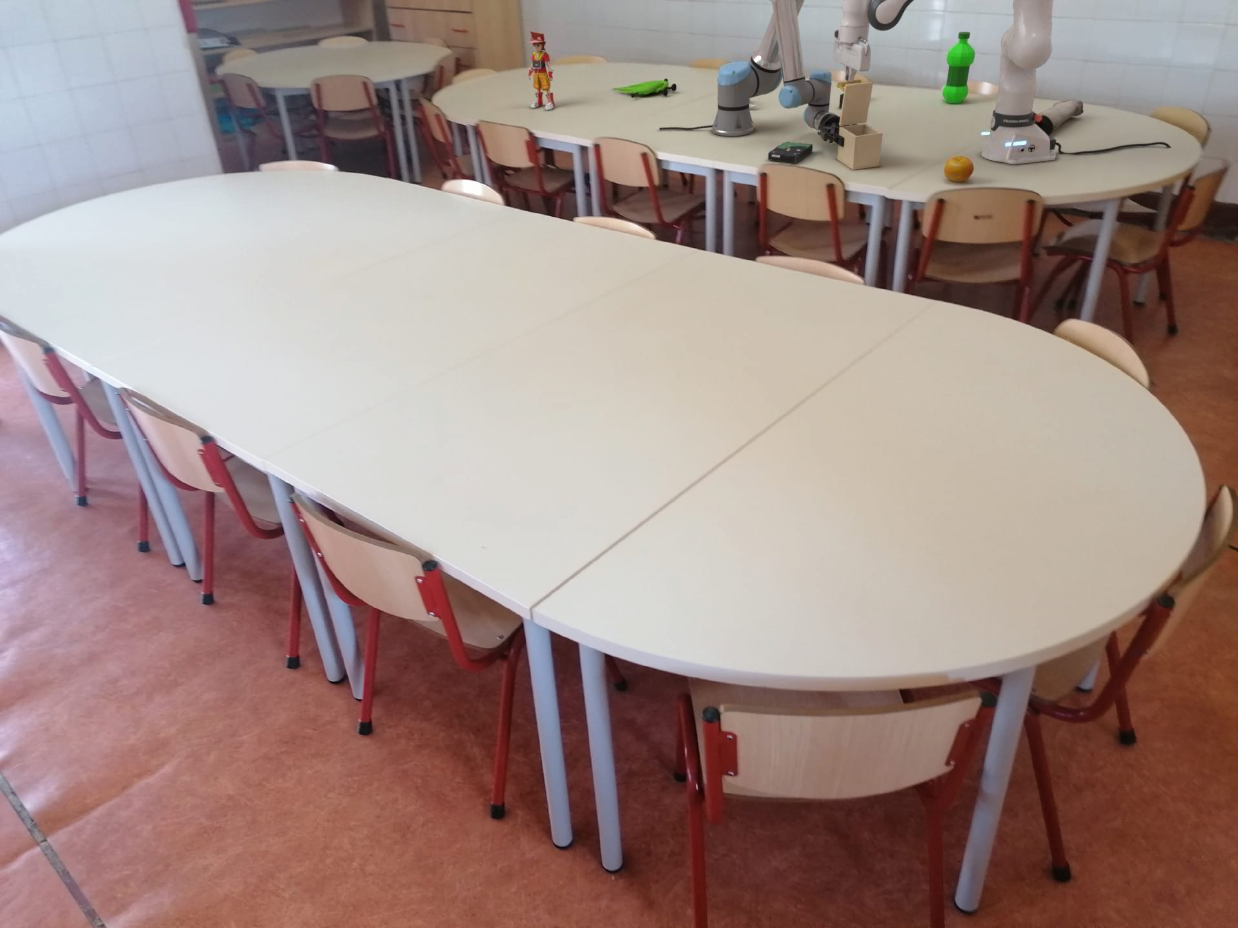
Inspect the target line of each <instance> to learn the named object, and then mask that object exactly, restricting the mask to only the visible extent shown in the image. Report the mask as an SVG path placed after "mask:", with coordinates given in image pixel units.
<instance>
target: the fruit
mask: <svg viewBox="0 0 1238 928" xmlns="http://www.w3.org/2000/svg"><path fill="white" fill-rule="evenodd" d="M974 169H975V166H974V162H973V161H972V160H971V159H970V158H969V157H968V156H964V155H957V156H953V157H951V158H949V159H948V160H946V162H945V164H944V166H943V175H944V177H945V178H946V179H947V180H948V181H951V182H957V183H959V182H960V183H961V182H965V181H967V180H968V179H969V178H971V176H972V175H973V174H974Z"/></svg>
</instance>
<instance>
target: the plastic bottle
mask: <svg viewBox="0 0 1238 928" xmlns="http://www.w3.org/2000/svg"><path fill="white" fill-rule="evenodd" d="M970 36H971V32H970V31H959V32H958V36H957V39H958V42H957V43H956V44H954V45H953V46H952V47H951V48H950V49H949V50H948V52H947V54H946V63H947V64H948V69H947V70H948V71H947V76H946V77H947V78H946V84H945V85H944V87H943V90H942V97H943V99H944V100H945V101H946V102H947V103H948V104H960V103H961V102H963V101H964V100H966V98H967V96H968V95H969V85H968V79H969V73H970V67H971V65H972V64H973V63H974V61H975V57H976V51H975V49H974V47H972V45H971V44H970V43H969V42H968V41H969V39H970V38H971V37H970Z"/></svg>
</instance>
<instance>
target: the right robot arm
mask: <svg viewBox="0 0 1238 928" xmlns="http://www.w3.org/2000/svg"><path fill="white" fill-rule="evenodd" d="M914 1H915V0H842V7H841V8H842V9H841V11H842V18H841V19H842V20H841V23H840V28H837V29H835V30H834V31H833V38H834V40H833V51H832V52H833V54H832V55H833V56H832V57H833V60H834V62H837V63H839V64H841V65H843V69H844V76H845V77H844V80H845V81H849V82H853V81H854V80H855V76H856V74H857V72H859V73H861V72H862V73H863V72H868V71H869V70H870V69H871V61H872V60H871V59H872V58H871V57H872V49H871V46H870V44H869V42H868V40H869V32H870V26H871V27H872V28H873V29H874V30H876V31H881V32H885V31H889V30H892V29H893V28H895V27H896V26H897V25H898V24H899V22H900V21H901V19H902V18H903V15H904V13H905V11H906V10H907V9H908V7H909V6H910V5H911V4H912V3H913V2H914ZM1053 6H1054V0H1013V2H1012V9H1013V24H1012V25H1010V26H1009V27H1007V28H1006V29H1005V30H1004V32H1003V34H1002V35H1001V37H1000V38H1001V39H1000V59H999V81H998V89H997V96H996V102H995V107H994V110H993V111H992V115H991V119H990V123H989V124H990V125H989V127H990V131H983V132H981V136H987V135H988V137H987V140H986V143H985V145H984V148H983V150H982V152H981V157H983V158H984V159H987V160H990V161H994V162H1000V163H1005V164H1010V165H1020V164H1021V165H1022V164H1029V163H1039V162H1048V161H1055V160H1056V158H1057V154H1056V152H1055V151H1054V150H1055V148H1056V146H1057V147H1058V149H1057V152H1058V153H1059V154H1061V155H1074V156H1075V155H1076V156H1077V155H1082V154H1084V155H1086V154H1087V155H1088V154H1098V153H1104V152H1110V151H1114V150H1119V149H1125V148H1133V147H1134V148H1135V147H1148V146H1149V147H1150V146H1156V145H1162V146H1165V147H1166V148H1167V149H1171V148H1172V146H1171V145H1170V144H1169V143H1167V142H1164V141H1154V142H1146V143H1131V144H1122V145H1118V146H1112V147H1108V148H1103V149H1097V150H1096V149H1094V150H1082V151H1075V152H1064V151H1063V150H1062V145H1061V143H1060V142H1057V138H1055V137H1053V136H1051V135H1047V134H1046V133H1045V132H1044V131H1043V130H1042V129H1041V128H1040V127H1038V126H1037V125H1036V124H1035V121H1037V122H1039V121H1040V120H1042V118H1041V117H1042V116H1041V115H1040V114H1039V113H1037V112H1035V111H1033V106H1034V102H1035V98H1036V92H1037V86H1038V85H1037V83H1038V82H1037V69H1039V68H1040V67H1042V66H1043V65H1045V64H1046V63H1047V62H1048V60H1049V59H1050V58H1051V55H1052V51H1053V45H1052V33H1053V32H1052V30H1053V8H1054V7H1053Z"/></svg>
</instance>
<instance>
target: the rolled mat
mask: <svg viewBox="0 0 1238 928" xmlns="http://www.w3.org/2000/svg"><path fill="white" fill-rule="evenodd" d="M1038 114H1040V115H1041V116H1042V117H1041V118H1042V120H1040V121H1039V122H1037V121H1035V124H1036V125H1037V126H1038V127H1040V128H1041V129H1042V130H1043V131H1044V132H1045V133H1046V134H1047V135H1048V136H1051V135H1052V134H1053V133H1054V132H1055V131H1056V130H1057V129H1058V128H1059V127H1060V125H1062V124H1063V123H1064V122H1066V121H1067V120H1068V119H1069V118H1071V117H1080V116H1081V115H1082V114H1084V102H1083V101H1082V100H1080V99H1067V100H1060V101H1057V102H1055V103H1053V105H1052V106H1051V107H1048V108H1046V109H1045V110H1043V111H1041V112H1039V113H1038Z"/></svg>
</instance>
